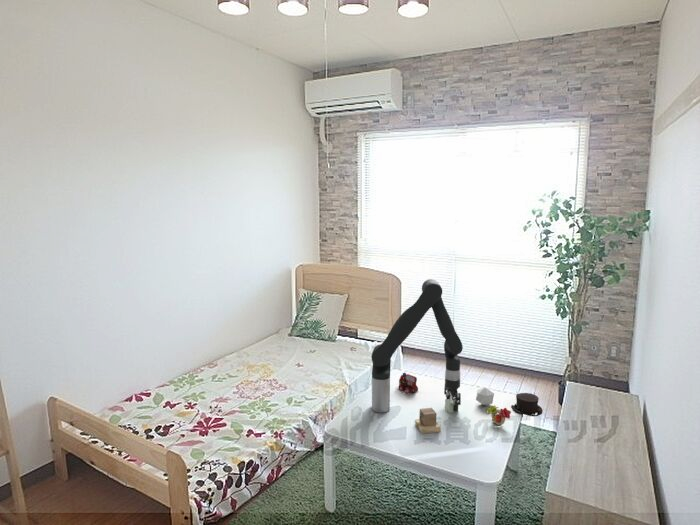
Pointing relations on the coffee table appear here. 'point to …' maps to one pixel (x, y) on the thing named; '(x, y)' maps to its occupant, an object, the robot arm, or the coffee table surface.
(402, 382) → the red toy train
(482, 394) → the die
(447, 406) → the sage green block
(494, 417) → the red and green cluster
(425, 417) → the walnut block
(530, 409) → the top hat
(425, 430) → the oak plinth
